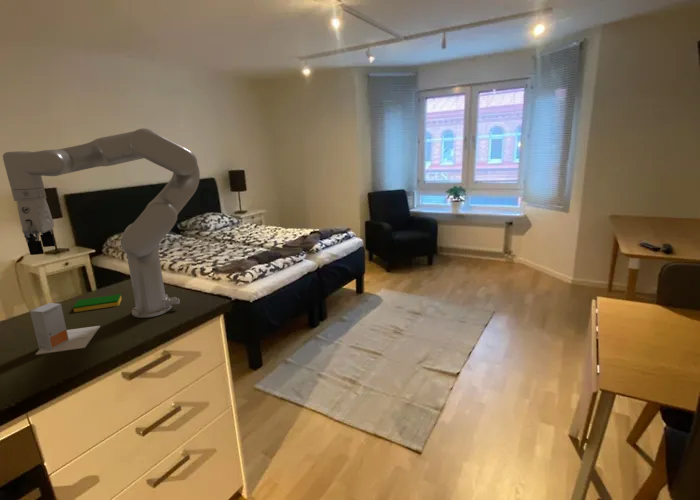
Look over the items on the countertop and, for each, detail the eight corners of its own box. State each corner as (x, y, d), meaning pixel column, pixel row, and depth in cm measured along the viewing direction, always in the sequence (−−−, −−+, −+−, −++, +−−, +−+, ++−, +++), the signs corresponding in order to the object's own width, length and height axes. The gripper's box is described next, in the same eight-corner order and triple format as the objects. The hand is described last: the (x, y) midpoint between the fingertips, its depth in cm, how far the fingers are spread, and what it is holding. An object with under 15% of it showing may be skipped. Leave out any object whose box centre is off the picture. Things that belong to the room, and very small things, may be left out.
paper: (100, 326, 122) (100, 325, 122) (85, 347, 109) (84, 346, 109) (56, 332, 119) (56, 331, 119) (35, 354, 106) (35, 353, 106)
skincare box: (51, 350, 107) (41, 312, 104) (38, 349, 108) (28, 311, 105) (70, 340, 113) (61, 303, 110) (58, 339, 114) (49, 302, 111)
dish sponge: (79, 306, 140) (77, 299, 139) (122, 299, 145) (120, 293, 144) (74, 313, 134) (72, 307, 133) (119, 306, 139) (117, 300, 138)
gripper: (32, 197, 105) (47, 256, 110) (55, 190, 121) (67, 242, 125) (-1, 199, 103) (16, 259, 107) (26, 192, 118) (39, 244, 123)
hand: (43, 250), depth 116 cm, fingers open, 9 cm apart
